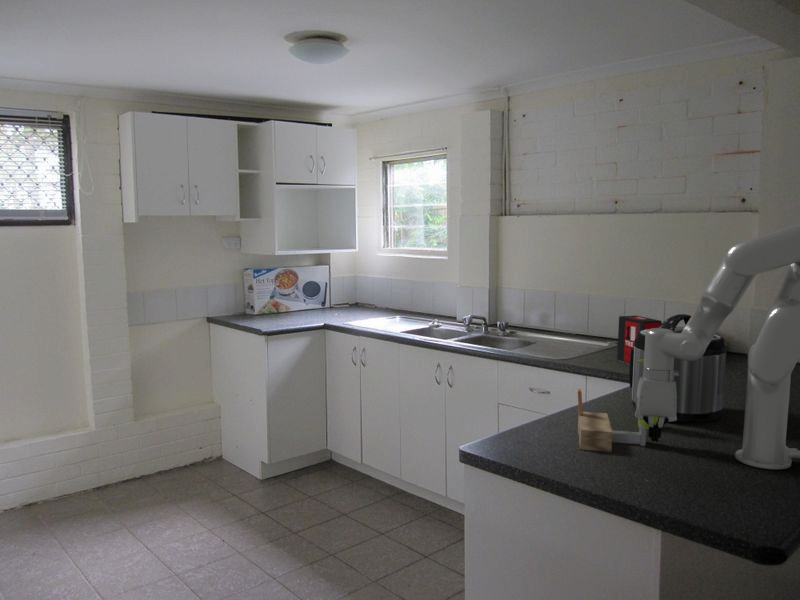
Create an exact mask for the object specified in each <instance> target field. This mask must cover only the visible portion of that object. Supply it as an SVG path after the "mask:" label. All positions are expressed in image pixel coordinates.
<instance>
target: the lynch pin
mask: <svg viewBox="0 0 800 600" xmlns="http://www.w3.org/2000/svg"><path fill="white" fill-rule="evenodd" d="M646 435H647V429H646V426H645V424H644V422H639V427H638V431H627V430H617V429H616V430H614V429H612V443H617V444H619V443H620V444H628V445H629V444H632V445H633V444H634V445H640V447H646V443H647V442H646V439H647V436H646Z"/></svg>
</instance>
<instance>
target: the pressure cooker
mask: <svg viewBox="0 0 800 600" xmlns="http://www.w3.org/2000/svg"><path fill="white" fill-rule="evenodd" d="M691 316H692V315H691V314H690V315H689V314H685V313H684V314H683V313H682V314H675V315H672V316H670V317H669V318H667V319H665V320H664V321H663V322H662V324H661V325H660V326H659V327H658V328H663V329H669V330H672V331H673V332H674V333H681V332H682V331H683V329H684V328H685V326H686V324H687V323H688V321H689V320H690V318H691ZM681 321H683V323H684V325H685V326H681V327H680V326H678V324H679V323H680V322H681ZM648 330H649V329H648ZM646 332H647V330H641V331H638V332H637V339H635V342H634V348H632V349H631V353H630V366H629V365H628V366H629V367H628V369H629V370H628V383H629V388H632V389H631V403H632V405H633V407H634V409H635V410H636V397H637V389H638V384H639V379H640V377H643V371H644V362H637V361H638V360H643V359H644V354H645V336H646ZM726 362H727V346H726V345H725V337H724V336H723V335H719V334H717V333H716V334H715V335H714V337H713V338H712V340H711V342H710V343H709V345H708V347H707V348H706V350H705V352H704V354H703V356H702V357H701V358H699V359H698V360H695V361H685V360H681V359H677V358H674V370H675V371H679V376H676V377H674V380H675V382H676V391H677V413H676V416H677V420H676V421H675V422H681V423H685V422H686V423H689V422H692V421H694V422H695V421H696V422H711V421H715V420H717V419H718V418H720V417H721V413H722V411H723V409H724V399H725V398H724V397H725V396H724V395H725V379H726Z"/></svg>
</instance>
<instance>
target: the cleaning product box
mask: <svg viewBox="0 0 800 600" xmlns="http://www.w3.org/2000/svg"><path fill="white" fill-rule="evenodd" d="M662 323H663V322H662V320H658V319H655V318H651V317H650V318H649V317H645V316H642V315H641V316H640V315H622V316H621V315H620V316H618V331H617V332H618V333H617V355H616V357H617V358H616V360H617V359H618V360H621V361H625V362H628V363H630V353H631V349H632V348H634V342H635V339H637V332H638V331H641V330H648V329H652V328H658V327H659V326H660V325H661V324H662Z"/></svg>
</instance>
